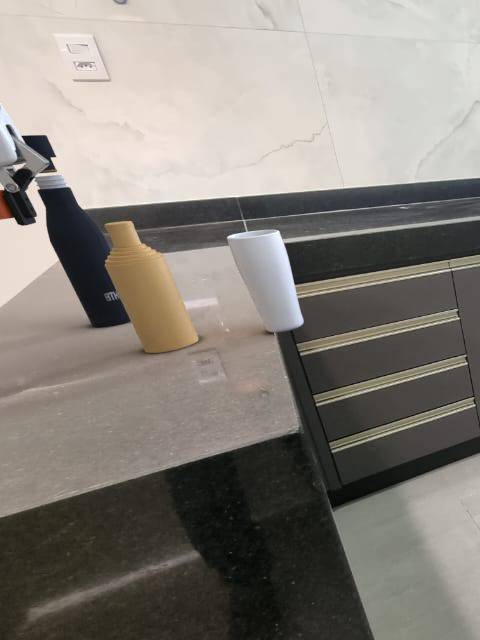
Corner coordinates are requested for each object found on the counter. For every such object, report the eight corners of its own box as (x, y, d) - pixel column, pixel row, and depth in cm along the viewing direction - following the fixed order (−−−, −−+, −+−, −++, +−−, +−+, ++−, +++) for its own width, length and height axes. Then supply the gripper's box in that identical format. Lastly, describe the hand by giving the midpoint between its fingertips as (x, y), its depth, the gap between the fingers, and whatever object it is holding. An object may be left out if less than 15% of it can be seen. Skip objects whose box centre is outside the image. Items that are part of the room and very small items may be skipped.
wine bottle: (112, 316, 95) (25, 136, 83) (150, 313, 96) (69, 134, 84) (81, 328, 89) (-17, 137, 77) (122, 325, 90) (31, 134, 78)
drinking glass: (298, 318, 89) (268, 228, 83) (317, 324, 85) (287, 231, 79) (253, 331, 84) (218, 236, 78) (272, 338, 80) (236, 239, 74)
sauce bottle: (134, 351, 78) (74, 226, 70) (179, 335, 83) (128, 218, 76) (165, 354, 76) (107, 227, 69) (208, 338, 82) (159, 218, 74)
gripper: (30, 66, 66) (99, 215, 74) (-172, 67, 59) (-73, 231, 67) (0, 59, 60) (78, 221, 68) (-229, 59, 53) (-113, 240, 61)
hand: (2, 225), depth 67 cm, fingers closed on cap, 3 cm apart
